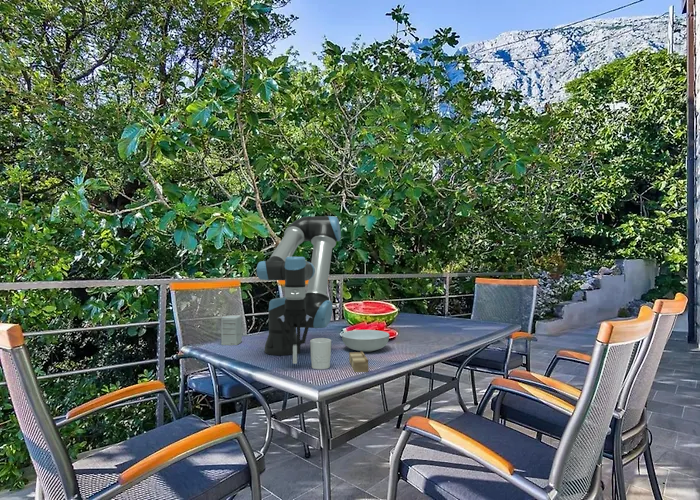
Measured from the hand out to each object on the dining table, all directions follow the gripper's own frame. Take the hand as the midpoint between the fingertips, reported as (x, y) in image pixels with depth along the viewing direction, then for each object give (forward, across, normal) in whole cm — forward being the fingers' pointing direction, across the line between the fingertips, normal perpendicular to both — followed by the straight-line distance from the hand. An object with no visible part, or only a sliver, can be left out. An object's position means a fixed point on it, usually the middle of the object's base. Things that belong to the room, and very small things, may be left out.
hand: (294, 362), depth 157 cm
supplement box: (+2, -30, +45) cm, 54 cm away
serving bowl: (+2, +30, +27) cm, 41 cm away
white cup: (+2, +10, 0) cm, 10 cm away
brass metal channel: (+2, +24, 0) cm, 24 cm away
